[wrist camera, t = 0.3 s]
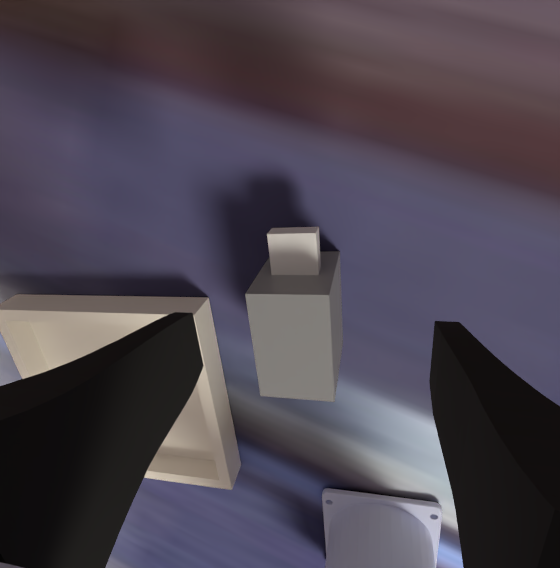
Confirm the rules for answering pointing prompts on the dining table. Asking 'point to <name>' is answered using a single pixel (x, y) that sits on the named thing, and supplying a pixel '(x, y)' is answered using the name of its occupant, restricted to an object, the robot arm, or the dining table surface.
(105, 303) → the tray
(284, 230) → the plug
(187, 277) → the dining table surface
